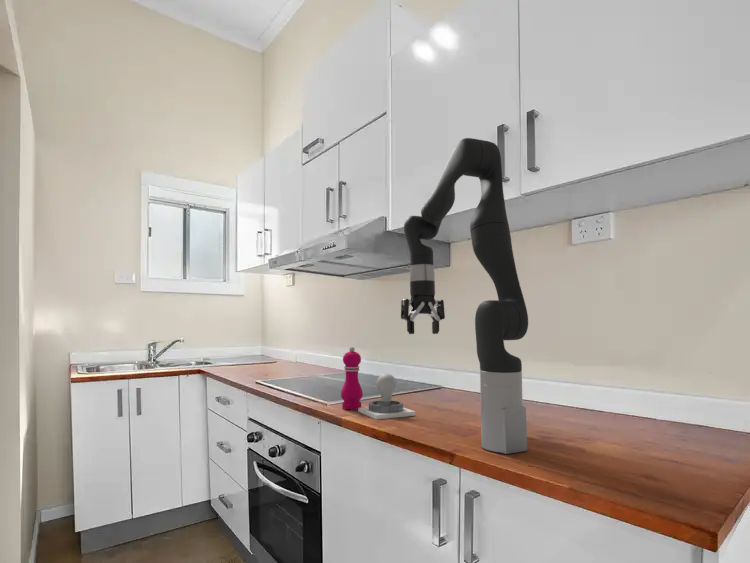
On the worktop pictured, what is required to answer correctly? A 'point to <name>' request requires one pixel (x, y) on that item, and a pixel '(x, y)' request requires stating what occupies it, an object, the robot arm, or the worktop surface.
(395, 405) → the socket collar
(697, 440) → the worktop surface
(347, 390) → the pepper mill
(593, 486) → the worktop surface
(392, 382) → the lightbulb
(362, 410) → the socket board
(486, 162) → the robot arm
